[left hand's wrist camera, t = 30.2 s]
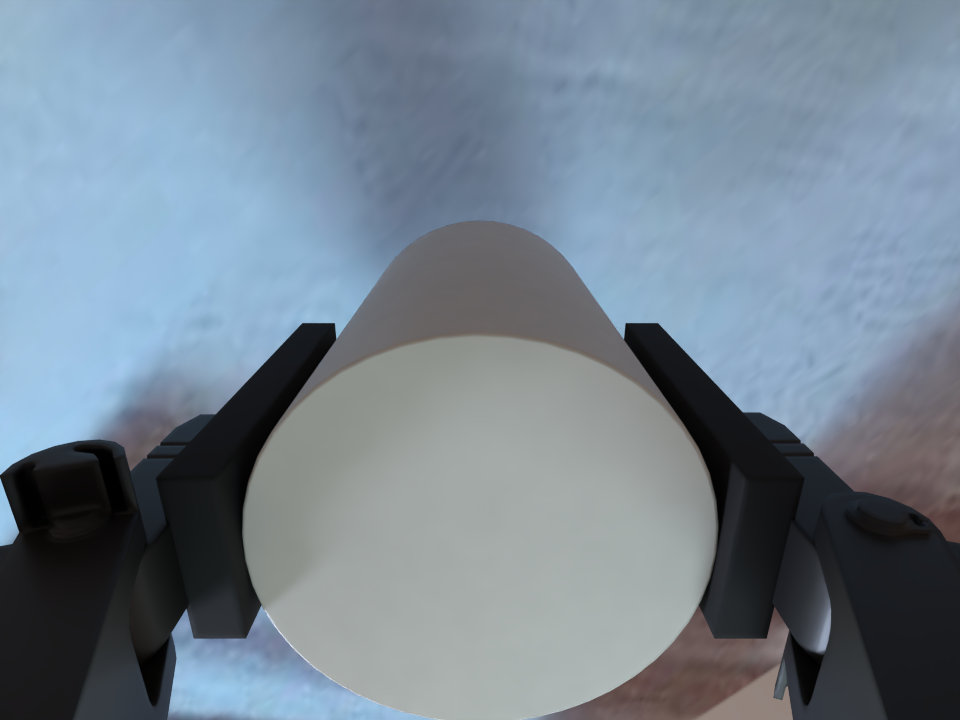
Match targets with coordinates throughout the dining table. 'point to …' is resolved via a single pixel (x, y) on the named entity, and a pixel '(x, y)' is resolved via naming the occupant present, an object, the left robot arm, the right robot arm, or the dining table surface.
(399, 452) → the can
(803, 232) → the dining table surface
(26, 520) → the left robot arm
